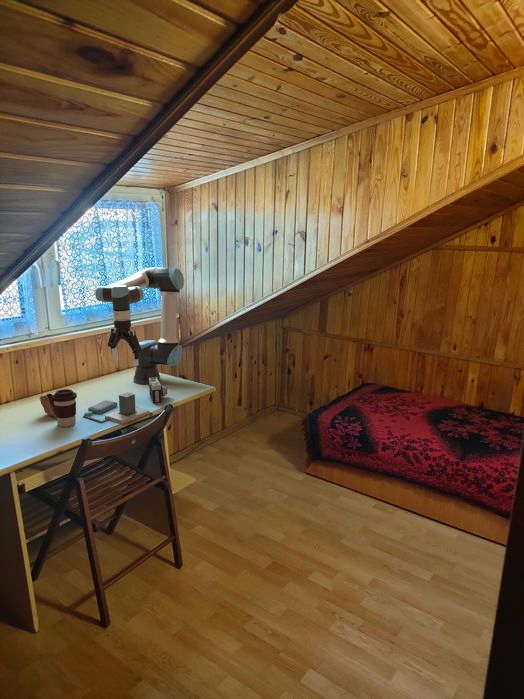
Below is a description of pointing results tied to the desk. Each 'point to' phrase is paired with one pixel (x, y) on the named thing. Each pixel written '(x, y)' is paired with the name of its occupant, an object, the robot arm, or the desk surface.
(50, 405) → the decorative rock
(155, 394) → the camera
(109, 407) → the flat grey block
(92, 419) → the cable
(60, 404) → the coffee cup
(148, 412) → the outlet plate
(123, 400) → the charger block
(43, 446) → the desk surface
